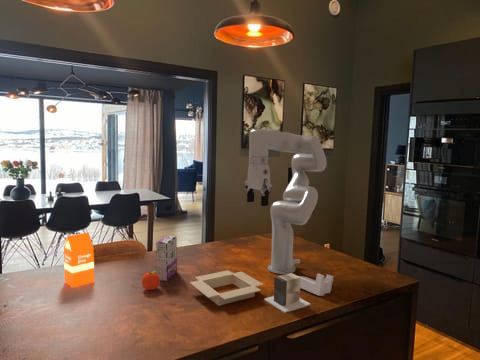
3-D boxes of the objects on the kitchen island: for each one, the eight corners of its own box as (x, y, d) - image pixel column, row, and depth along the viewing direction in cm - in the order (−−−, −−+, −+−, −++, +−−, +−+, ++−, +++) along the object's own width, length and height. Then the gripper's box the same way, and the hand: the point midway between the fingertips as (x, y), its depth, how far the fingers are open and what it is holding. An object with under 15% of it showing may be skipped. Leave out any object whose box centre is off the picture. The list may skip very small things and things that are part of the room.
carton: (236, 277, 159) (236, 268, 159) (269, 298, 139) (269, 287, 139) (185, 288, 146) (185, 278, 146) (213, 312, 127) (214, 301, 126)
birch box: (290, 296, 140) (291, 273, 139) (299, 301, 136) (300, 277, 135) (273, 300, 136) (274, 277, 135) (282, 306, 132) (283, 281, 131)
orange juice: (94, 282, 151) (93, 234, 149) (72, 288, 145) (71, 238, 143) (86, 277, 157) (84, 230, 155) (64, 282, 150) (62, 234, 148)
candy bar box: (166, 271, 165) (166, 235, 163) (177, 272, 164) (177, 235, 162) (156, 280, 154) (155, 241, 153) (167, 281, 153) (167, 242, 152)
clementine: (156, 283, 151) (156, 266, 150) (165, 288, 146) (165, 271, 145) (138, 289, 145) (138, 271, 145) (147, 294, 140) (147, 276, 140)
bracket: (329, 295, 145) (333, 276, 146) (318, 295, 141) (322, 275, 141) (304, 285, 155) (307, 267, 156) (293, 284, 151) (296, 266, 151)
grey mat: (288, 293, 144) (288, 291, 144) (310, 305, 134) (310, 303, 134) (263, 299, 138) (263, 298, 138) (284, 312, 128) (284, 311, 127)
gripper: (279, 162, 142) (278, 206, 144) (253, 159, 156) (252, 199, 158) (263, 162, 138) (262, 208, 140) (238, 159, 152) (237, 201, 154)
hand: (257, 203), depth 149 cm, fingers open, 9 cm apart
